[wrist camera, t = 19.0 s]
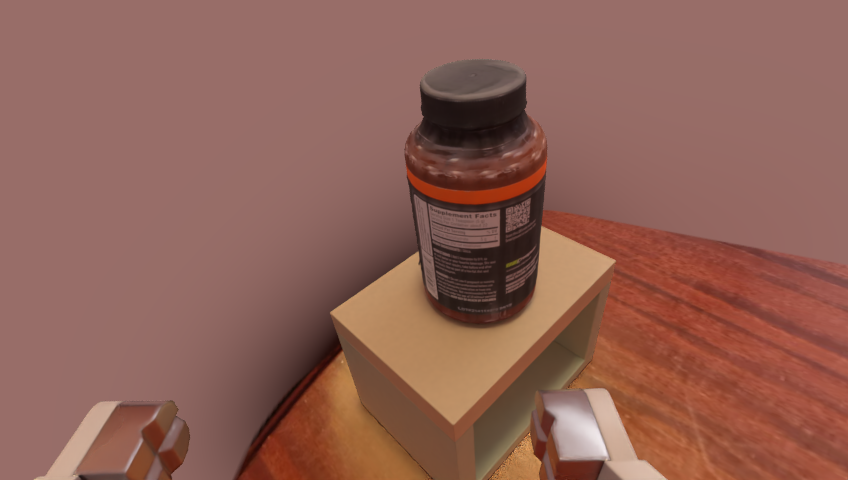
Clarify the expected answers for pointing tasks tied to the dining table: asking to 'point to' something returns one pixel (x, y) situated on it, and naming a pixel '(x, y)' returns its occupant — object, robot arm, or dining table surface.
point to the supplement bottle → (477, 190)
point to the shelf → (494, 418)
